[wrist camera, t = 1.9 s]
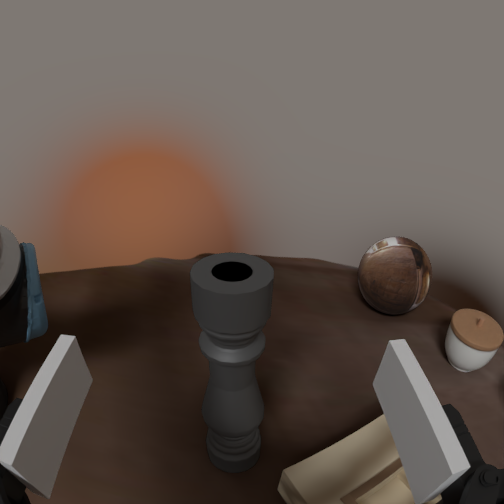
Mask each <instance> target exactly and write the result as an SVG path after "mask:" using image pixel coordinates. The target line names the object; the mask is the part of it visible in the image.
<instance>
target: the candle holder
mask: <svg viewBox="0 0 504 504" xmlns="http://www.w3.org/2000/svg"><path fill="white" fill-rule="evenodd" d="M273 278H274V269H273V268H272V267H271V266H270V264H269V263H268V262H266V261H264V260H263V259H261V258H259V257H257V256H253V255H249V254H245V253H221V254H214V255H211V256H208V257H205V258H202V259H201V260H199V261H198V262H196V263H195V264H194V265H193V267H192V269H191V271H190V281H191V294H192V306H193V312H194V316H195V319H196V320H197V321H198V322H199V326H200V327H201V329H202V330H203V331H202V332H201V334H200V338H199V345H200V348H201V352H202V354H203V355H204V356H205V357H206V358H207V359H208V360H209V368H210V378H209V382H208V385H207V389H206V393H205V396H204V400H203V404H202V409H201V410H202V415H203V418H204V421H205V423H206V424H207V426H208V432H207V437H206V444H207V450H208V455H209V458H210V461H211V462H212V463H213V464H214V465H215V466H216V467H217V468H219V469H221V470H223V471H225V472H231V473H239V472H243V471H247V470H248V469H250V468H251V467H253V466H254V465H255V464H256V462H257V460H258V459H259V455H260V446H261V436H260V430H259V428H258V426H259V425H260V423H261V421H262V420H263V417H264V403H263V400H262V396H261V393H260V390H259V387H258V383H257V380H256V376H255V360H257V359H258V358H259V357H260V355H261V354H262V352H263V351H264V349H265V336H264V334H263V332H262V328H263V327H264V326H265V324H266V321H267V320H268V319H269V317H270V316H271V304H272V291H273Z"/></svg>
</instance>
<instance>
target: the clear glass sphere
mask: <svg viewBox="0 0 504 504" xmlns="http://www.w3.org/2000/svg"><path fill="white" fill-rule="evenodd" d="M431 283H432V267H431V263H430V260H429V258H428V256H427V254H426V253H425V251H424V250H423V249H422V248H421V247H420V246H419V245H418V244H417V243H415V242H414V241H412V240H410V239H407V238H404V237H388V238H384V239H382V240H379V241H378V242H376V243H374V244H373V245H372V246H371V247H370V248H369V249H368V250H367V251H366V253H365V254H364V255H363V257H362V259H361V262H360V265H359V269H358V284H359V288H360V291H361V293H362V295H363V297H364V298H365V300H366V301H367V302H368V303H369V304H370V305H371V306H372V307H373V308H374V309H376V310H378V311H380V312H382V313H385V314H391V315H398V314H403V313H407V312H409V311H411V310H413V309H415V308H416V307H417V306H418V305H420V304H421V303H422V301H423V300H424V299H425V297H426V296H427V294H428V292H429V290H430V287H431Z"/></svg>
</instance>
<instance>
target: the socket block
mask: <svg viewBox="0 0 504 504" xmlns="http://www.w3.org/2000/svg"><path fill="white" fill-rule="evenodd" d="M277 490H278V492H279V493H280V494H281V496H282V497H283V499H284V500H285V502H286V503H287V504H415V502H414V499H413V495H412V492H411V489H410V486H409V483H408V480H407V477H406V474H405V471H404V468H403V465H402V462H401V459H400V456H399V454H398V451H397V448H396V445H395V442H394V440H393V437H392V434H391V431H390V429H389V426H388V423H387V420H386V418H385V415H384V414H383V415H381V416H380V417H378V418H377V419H375V420H374V421H372V422H371V423H369V424H367V425H366V426H364V427H363V428H361V429H359V430H358V431H356V432H354V433H353V434H351V435H349V436H348V437H346V438H344V439H342V440H341V441H339V442H337V443H335V444H333V445H332V446H330V447H328V448H326V449H324V450H322V451H321V452H319V453H317V454H315V455H313V456H311V457H309V458H307V459H305V460H303V461H301V462H299V463H297V464H295V465H293V466H290V467H288V468H286V469H284V470H283V472H282V475H281V479H280V482H279V485H278V489H277ZM441 499H442V497H441V494H439V495H438V496H437V497H436V498H435V499H433V500H431V501H428V502H426V503H423V504H436V503H437V502H439V501H440V500H441Z"/></svg>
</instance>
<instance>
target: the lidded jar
mask: <svg viewBox="0 0 504 504" xmlns="http://www.w3.org/2000/svg"><path fill="white" fill-rule="evenodd" d="M503 338H504V335H503V331H502V329H501V327H500V326H499V324H498V323H497V322H496V321H495V320H494V319H493V318H491V317H490V316H488V315H487V314H485V313H483V312H480V311H477V310H473V309H461V310H458V311H457V312H455V313H454V314H453V316H452V319H451V323H450V325H449V328H448V331H447V334H446V338H445V350H446V354H447V357H448V361H449V363H450V364H451V365H452V366H453V367H454V368H455V369H457V370H459V371H462V372H470V371H473V370H477V369H479V368H481V367H483V366H484V365H486V364H487V363H488V362H489V361H490V360H491V359H492V357H493V356H494V354H495V353H496V351H497V350H498V348H499V347H500V345H501V344H502V342H503Z"/></svg>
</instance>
